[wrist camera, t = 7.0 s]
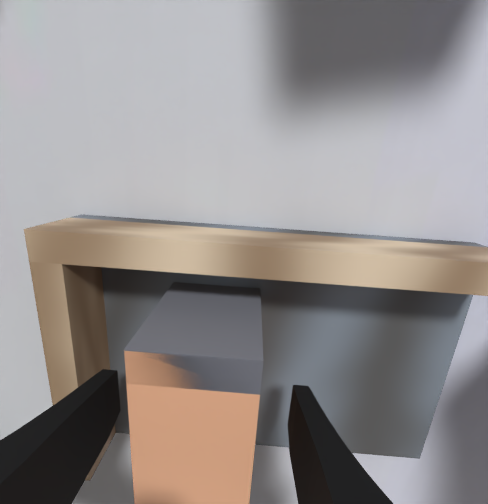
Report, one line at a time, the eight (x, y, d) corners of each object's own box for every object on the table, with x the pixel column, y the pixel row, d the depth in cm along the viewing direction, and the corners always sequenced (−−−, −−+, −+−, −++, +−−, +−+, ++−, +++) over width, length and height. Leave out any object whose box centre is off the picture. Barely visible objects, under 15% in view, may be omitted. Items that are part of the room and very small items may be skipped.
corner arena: (474, 242, 12) (548, 267, 9) (411, 444, 16) (450, 512, 13) (81, 214, 13) (24, 229, 10) (102, 418, 16) (64, 478, 13)
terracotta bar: (248, 425, 15) (244, 546, 10) (174, 419, 15) (136, 536, 10) (260, 288, 13) (263, 360, 8) (173, 282, 13) (124, 349, 8)
